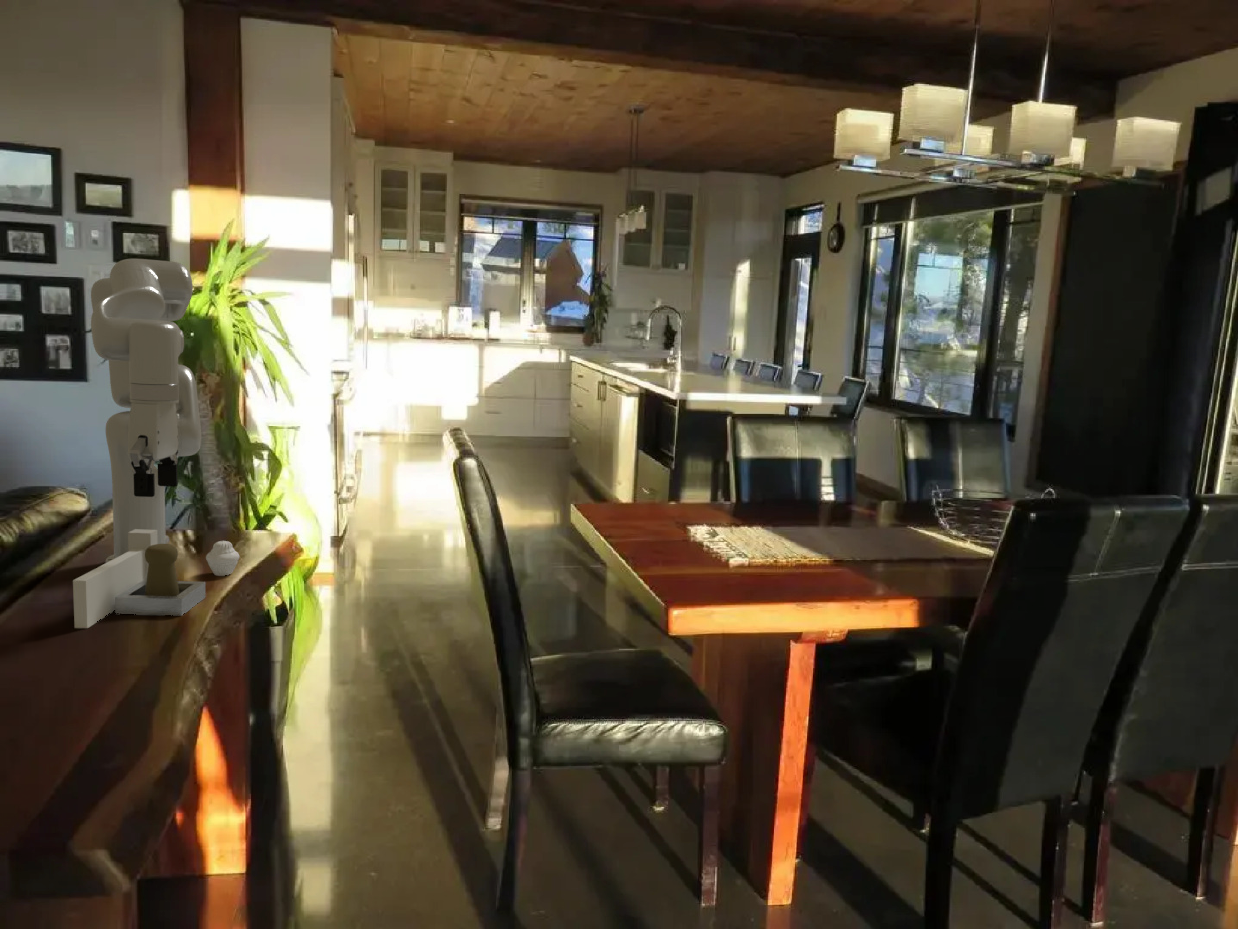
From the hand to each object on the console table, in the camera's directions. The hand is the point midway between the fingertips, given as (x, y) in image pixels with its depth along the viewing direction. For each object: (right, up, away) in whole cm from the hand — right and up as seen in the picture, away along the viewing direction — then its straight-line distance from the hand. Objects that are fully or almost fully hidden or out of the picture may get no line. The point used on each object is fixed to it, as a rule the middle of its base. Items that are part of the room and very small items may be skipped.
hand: (156, 491), depth 159 cm
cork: (0, -21, +3) cm, 21 cm away
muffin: (+1, -18, +24) cm, 30 cm away
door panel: (-8, -20, +1) cm, 22 cm away
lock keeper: (0, -21, +2) cm, 21 cm away
